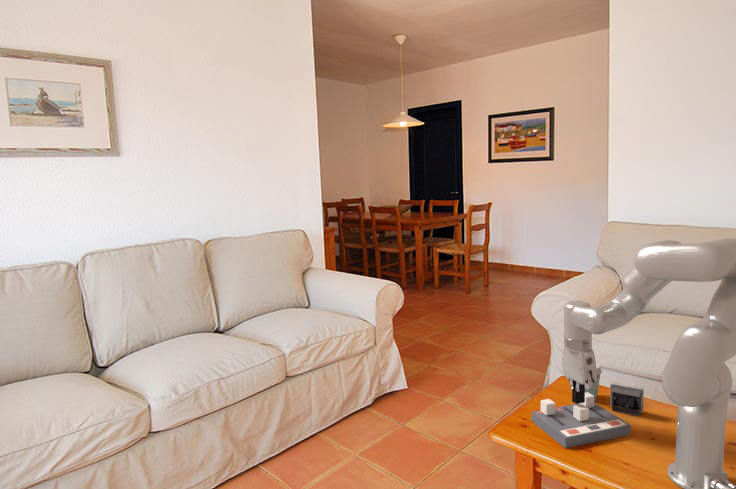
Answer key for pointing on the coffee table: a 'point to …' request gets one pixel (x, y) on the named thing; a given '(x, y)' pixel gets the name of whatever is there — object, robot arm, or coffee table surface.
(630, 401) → the electrical switch
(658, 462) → the coffee table surface
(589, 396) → the right switch
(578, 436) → the switch unit
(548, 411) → the left switch
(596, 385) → the coffee cup
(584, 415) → the middle switch
